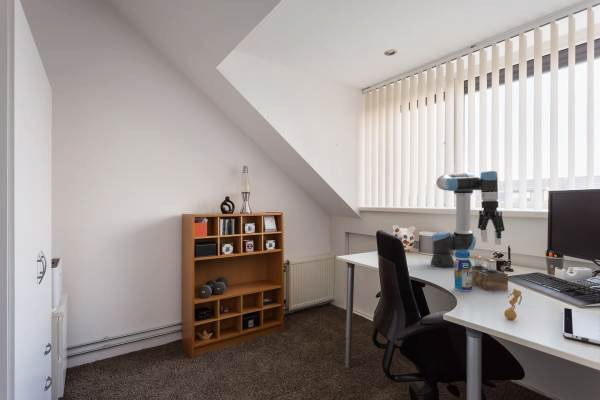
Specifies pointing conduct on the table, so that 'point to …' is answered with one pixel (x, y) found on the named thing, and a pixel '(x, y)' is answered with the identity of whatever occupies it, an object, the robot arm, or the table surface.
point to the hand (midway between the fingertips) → (491, 243)
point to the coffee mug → (499, 264)
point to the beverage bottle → (463, 271)
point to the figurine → (510, 312)
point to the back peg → (478, 262)
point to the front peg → (491, 266)
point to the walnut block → (489, 279)
